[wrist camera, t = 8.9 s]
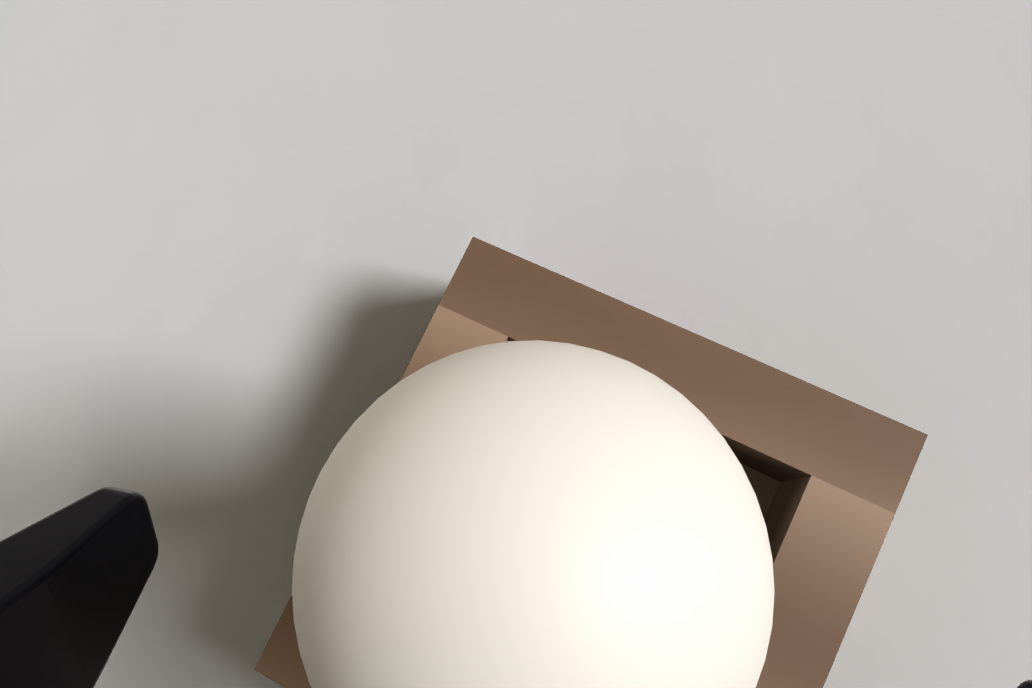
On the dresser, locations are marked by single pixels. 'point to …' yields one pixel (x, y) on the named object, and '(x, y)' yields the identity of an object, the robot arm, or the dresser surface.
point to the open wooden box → (737, 417)
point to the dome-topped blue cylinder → (532, 534)
